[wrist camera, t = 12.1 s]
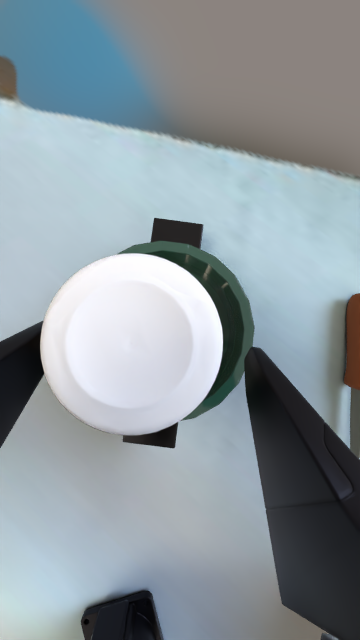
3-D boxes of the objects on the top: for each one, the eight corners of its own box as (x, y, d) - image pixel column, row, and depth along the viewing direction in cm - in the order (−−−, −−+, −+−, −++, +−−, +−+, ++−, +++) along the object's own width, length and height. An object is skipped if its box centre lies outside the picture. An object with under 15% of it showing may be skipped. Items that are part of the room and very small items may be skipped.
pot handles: (174, 442, 15) (174, 448, 14) (125, 436, 15) (122, 442, 14) (202, 229, 16) (203, 224, 15) (155, 223, 15) (154, 217, 15)
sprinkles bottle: (152, 362, 18) (70, 477, 4) (135, 318, 18) (1, 288, 4) (196, 345, 18) (258, 398, 4) (179, 301, 18) (184, 218, 4)
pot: (226, 407, 18) (242, 433, 14) (88, 389, 18) (58, 410, 13) (242, 271, 19) (263, 253, 14) (109, 253, 19) (87, 230, 14)
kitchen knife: (344, 295, 19) (364, 291, 17) (357, 296, 19) (379, 292, 17) (336, 454, 18) (356, 470, 16) (349, 455, 18) (371, 471, 16)
